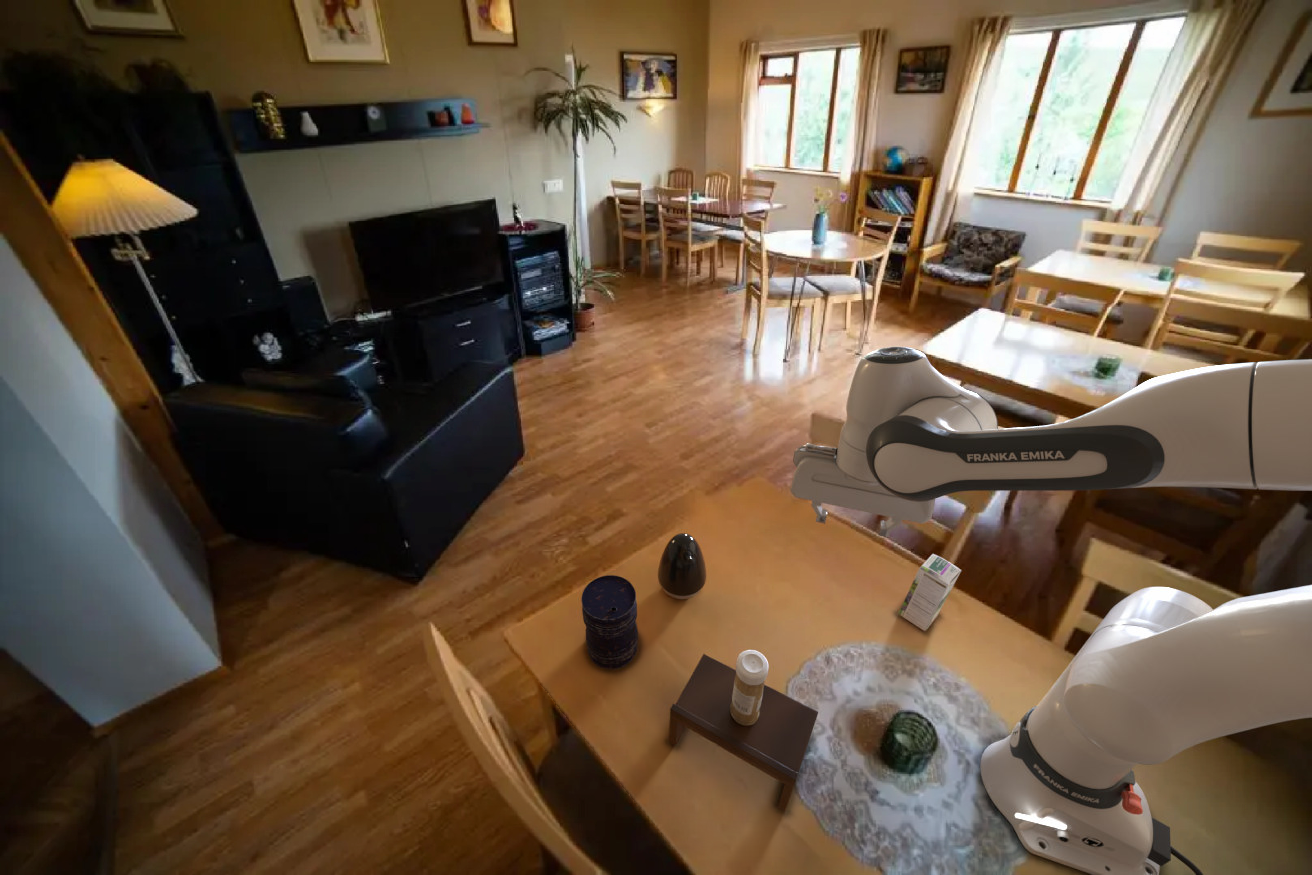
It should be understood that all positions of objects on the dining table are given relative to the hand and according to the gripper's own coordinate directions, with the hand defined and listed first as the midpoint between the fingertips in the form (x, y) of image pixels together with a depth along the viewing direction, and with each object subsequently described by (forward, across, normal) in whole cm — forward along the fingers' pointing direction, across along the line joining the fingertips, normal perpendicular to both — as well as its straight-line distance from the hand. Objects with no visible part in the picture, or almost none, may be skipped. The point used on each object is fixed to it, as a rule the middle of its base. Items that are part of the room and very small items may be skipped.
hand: (851, 527), depth 84 cm
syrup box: (+32, +18, +16) cm, 40 cm away
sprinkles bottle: (+24, -11, -21) cm, 34 cm away
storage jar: (+32, -38, -12) cm, 51 cm away
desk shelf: (+33, -11, -21) cm, 40 cm away
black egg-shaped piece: (+31, -30, +6) cm, 43 cm away
